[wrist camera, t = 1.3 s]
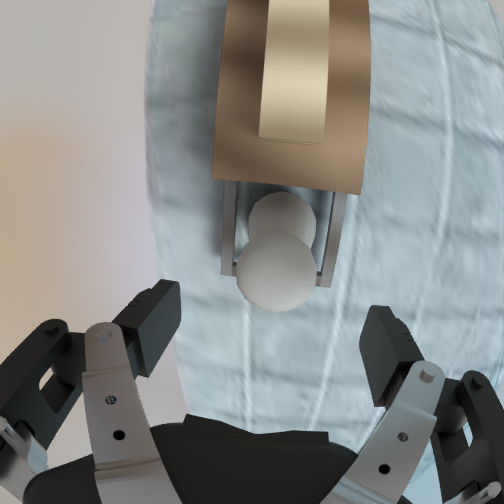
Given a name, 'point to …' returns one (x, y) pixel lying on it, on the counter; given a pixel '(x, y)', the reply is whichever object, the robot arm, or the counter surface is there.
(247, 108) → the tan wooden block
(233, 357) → the counter surface
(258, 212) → the salt shaker
